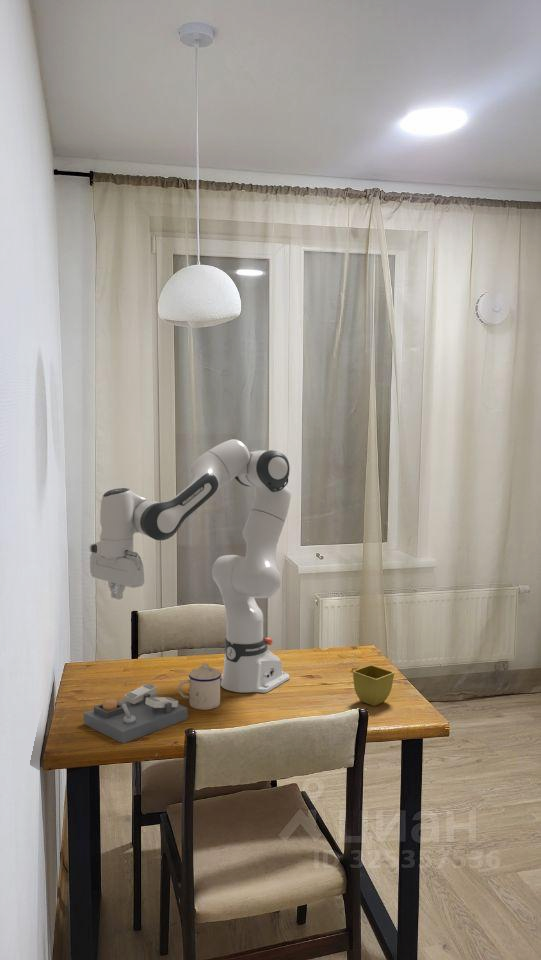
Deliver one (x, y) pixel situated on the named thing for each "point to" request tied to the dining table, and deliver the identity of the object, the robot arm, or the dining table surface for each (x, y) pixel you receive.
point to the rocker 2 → (160, 702)
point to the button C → (109, 704)
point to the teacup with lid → (203, 687)
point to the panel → (133, 719)
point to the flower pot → (372, 684)
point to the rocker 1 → (140, 693)
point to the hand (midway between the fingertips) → (116, 598)
